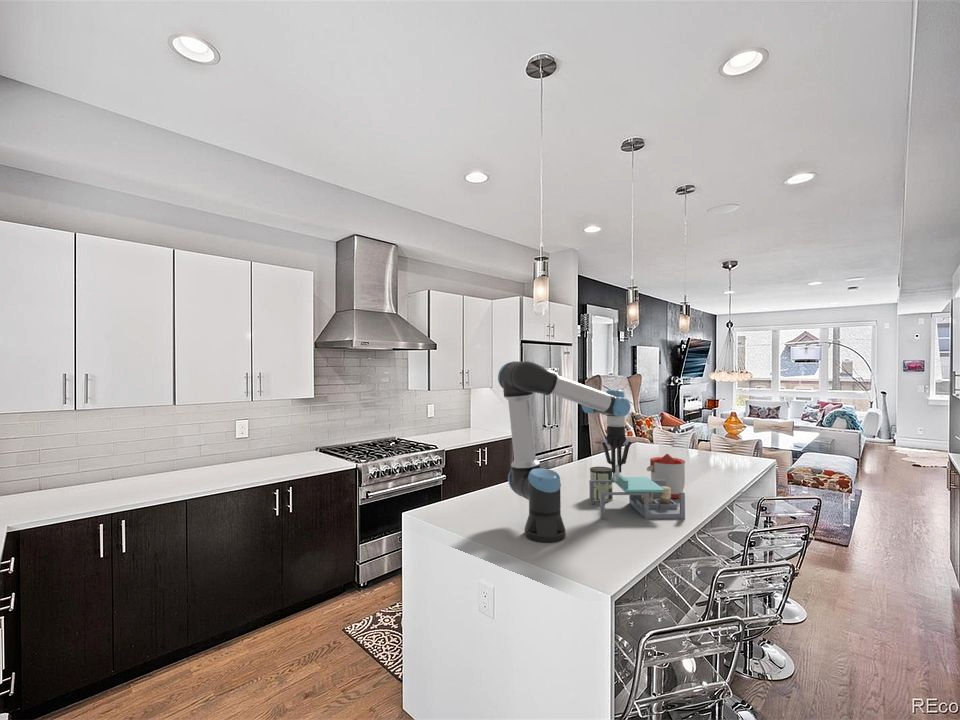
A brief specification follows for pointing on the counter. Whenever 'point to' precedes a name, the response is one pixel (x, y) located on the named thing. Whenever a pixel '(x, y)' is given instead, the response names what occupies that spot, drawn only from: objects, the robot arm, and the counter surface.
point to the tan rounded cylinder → (649, 498)
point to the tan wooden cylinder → (665, 495)
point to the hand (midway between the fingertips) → (616, 480)
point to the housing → (644, 509)
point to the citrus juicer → (669, 473)
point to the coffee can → (601, 474)
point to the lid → (637, 484)
